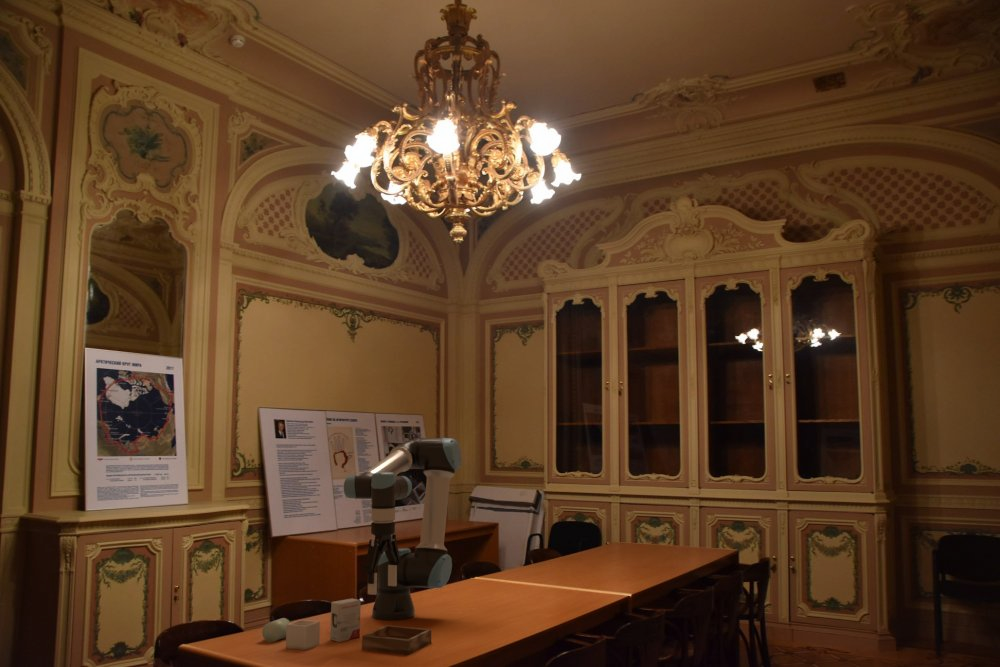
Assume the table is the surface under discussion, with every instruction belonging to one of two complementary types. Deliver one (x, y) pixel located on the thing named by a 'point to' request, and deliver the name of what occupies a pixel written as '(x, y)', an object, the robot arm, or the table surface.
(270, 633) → the toppled green cylinder
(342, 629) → the ink box
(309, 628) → the small grey bin
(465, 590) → the table surface
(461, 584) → the table surface
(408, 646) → the crate
